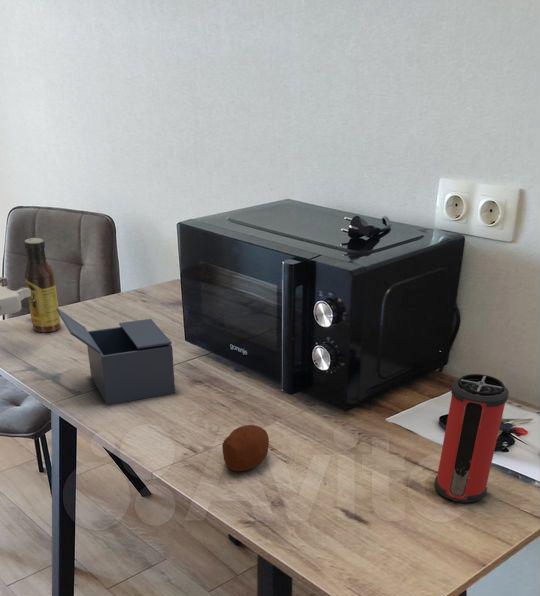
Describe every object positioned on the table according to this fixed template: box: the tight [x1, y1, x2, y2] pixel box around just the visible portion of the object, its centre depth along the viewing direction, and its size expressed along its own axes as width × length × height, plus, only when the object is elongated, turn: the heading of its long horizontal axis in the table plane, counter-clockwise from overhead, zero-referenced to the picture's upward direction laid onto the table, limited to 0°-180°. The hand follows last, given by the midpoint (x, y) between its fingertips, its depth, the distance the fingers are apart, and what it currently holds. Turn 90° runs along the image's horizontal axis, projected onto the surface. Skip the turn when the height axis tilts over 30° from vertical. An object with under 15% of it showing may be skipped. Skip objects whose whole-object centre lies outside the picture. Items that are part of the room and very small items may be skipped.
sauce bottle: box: [23, 237, 61, 333], centre depth 154 cm, size 7×6×20 cm
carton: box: [86, 318, 176, 406], centre depth 133 cm, size 13×13×10 cm
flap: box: [56, 308, 101, 354], centre depth 126 cm, size 6×13×1 cm
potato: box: [221, 424, 270, 472], centre depth 111 cm, size 7×9×6 cm
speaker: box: [434, 373, 510, 504], centre depth 103 cm, size 8×8×18 cm
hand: (17, 286), depth 151 cm, fingers open, 8 cm apart
